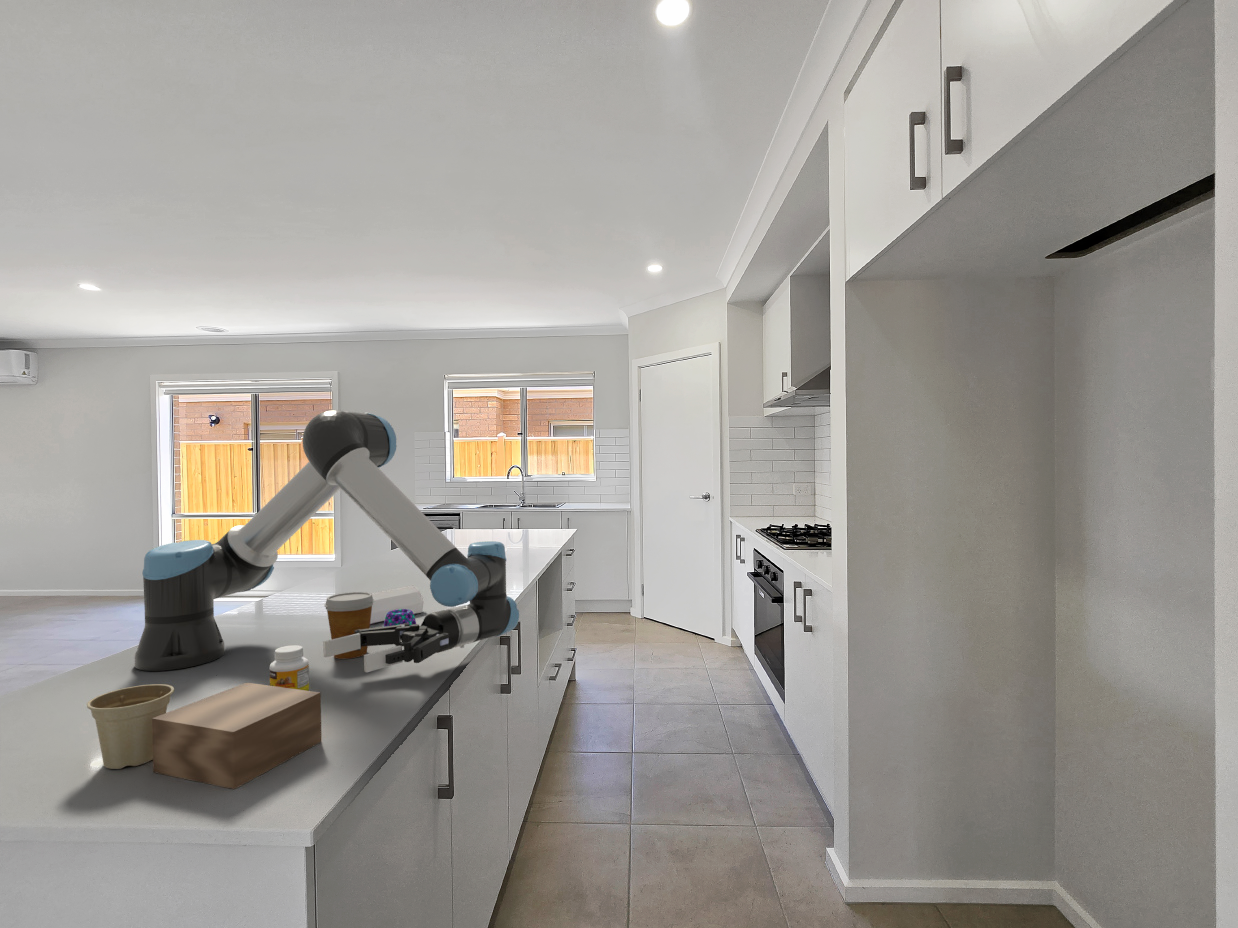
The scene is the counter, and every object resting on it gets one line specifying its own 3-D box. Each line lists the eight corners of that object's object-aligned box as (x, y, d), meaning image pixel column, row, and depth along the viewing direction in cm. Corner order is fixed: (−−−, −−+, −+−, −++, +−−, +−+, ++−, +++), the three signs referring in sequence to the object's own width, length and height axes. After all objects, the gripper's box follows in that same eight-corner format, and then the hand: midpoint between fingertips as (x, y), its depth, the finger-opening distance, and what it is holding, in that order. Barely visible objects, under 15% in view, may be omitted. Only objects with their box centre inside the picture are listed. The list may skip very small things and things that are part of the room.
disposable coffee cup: (383, 647, 139) (382, 591, 139) (361, 661, 130) (360, 601, 130) (340, 647, 140) (339, 591, 140) (315, 661, 131) (314, 601, 131)
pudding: (422, 640, 146) (421, 616, 146) (366, 642, 145) (365, 618, 145) (431, 626, 158) (430, 604, 158) (379, 628, 157) (379, 606, 157)
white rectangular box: (345, 617, 151) (433, 598, 170) (331, 598, 155) (419, 582, 174) (337, 642, 154) (425, 621, 173) (324, 623, 158) (411, 604, 176)
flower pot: (119, 745, 93) (118, 684, 93) (189, 742, 94) (188, 681, 94) (69, 777, 84) (68, 710, 84) (148, 773, 84) (146, 707, 84)
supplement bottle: (261, 717, 102) (260, 652, 102) (289, 704, 108) (288, 642, 108) (290, 721, 101) (289, 654, 101) (317, 707, 106) (316, 644, 106)
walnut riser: (153, 772, 85) (152, 718, 85) (247, 729, 98) (246, 682, 98) (234, 788, 80) (233, 731, 80) (321, 741, 93) (320, 692, 93)
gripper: (491, 659, 119) (385, 694, 103) (412, 638, 135) (309, 664, 119) (490, 618, 119) (383, 646, 103) (411, 601, 135) (308, 623, 119)
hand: (343, 656), depth 111 cm, fingers open, 13 cm apart
